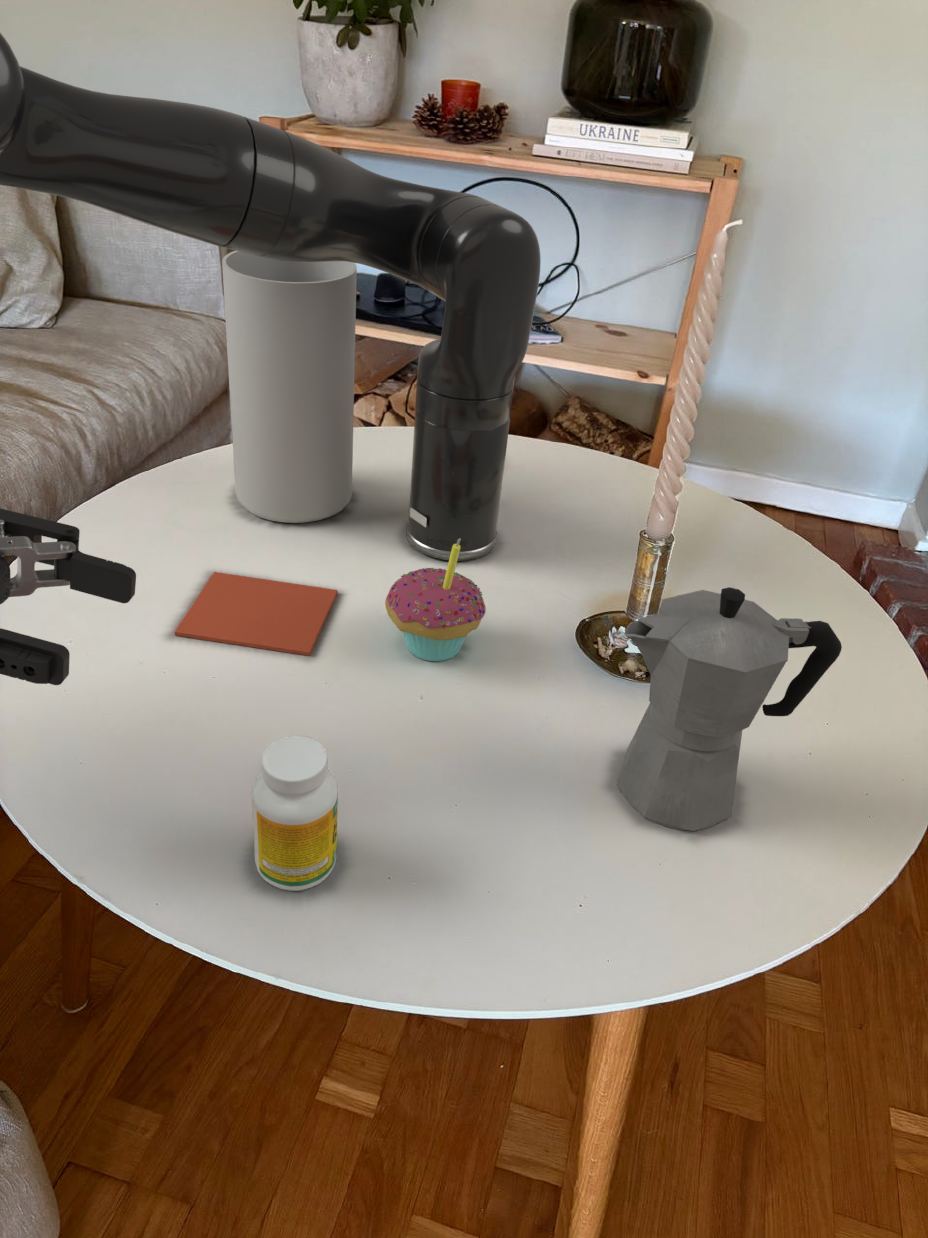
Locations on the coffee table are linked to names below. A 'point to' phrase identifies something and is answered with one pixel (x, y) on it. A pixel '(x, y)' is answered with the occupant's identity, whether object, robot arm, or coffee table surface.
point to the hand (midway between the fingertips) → (102, 624)
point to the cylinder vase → (291, 384)
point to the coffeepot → (709, 699)
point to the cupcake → (435, 609)
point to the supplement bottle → (295, 814)
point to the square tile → (258, 613)
